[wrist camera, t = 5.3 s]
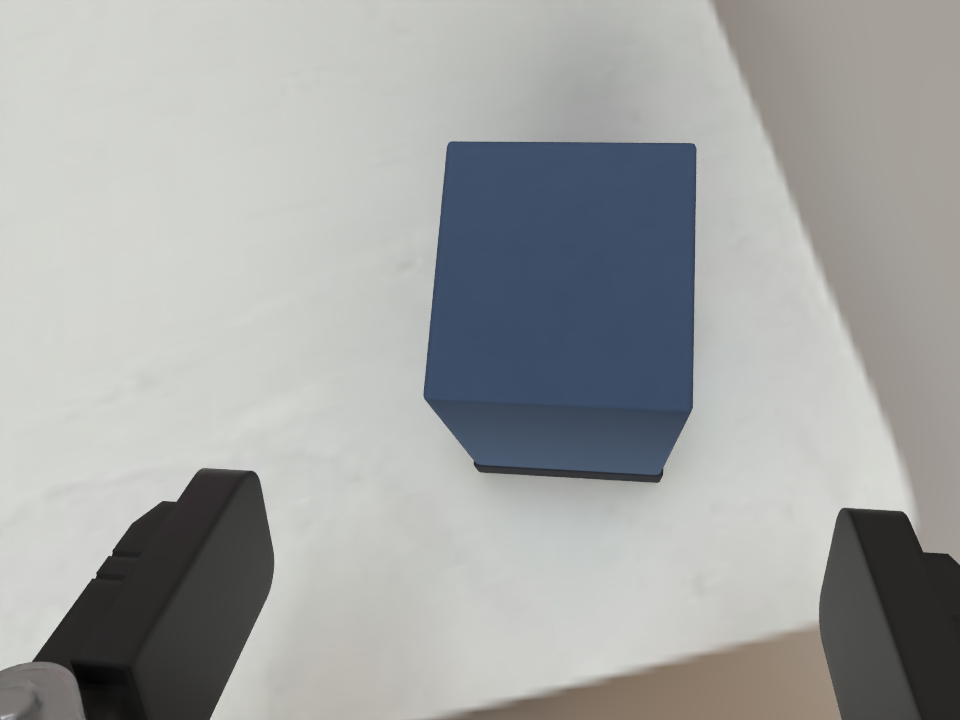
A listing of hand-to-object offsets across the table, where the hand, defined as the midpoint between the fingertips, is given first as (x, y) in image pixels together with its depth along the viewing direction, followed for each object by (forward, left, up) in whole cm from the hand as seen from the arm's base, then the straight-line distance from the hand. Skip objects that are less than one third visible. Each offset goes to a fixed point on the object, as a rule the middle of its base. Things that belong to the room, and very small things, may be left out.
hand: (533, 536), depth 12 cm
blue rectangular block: (+5, -1, -10) cm, 11 cm away
